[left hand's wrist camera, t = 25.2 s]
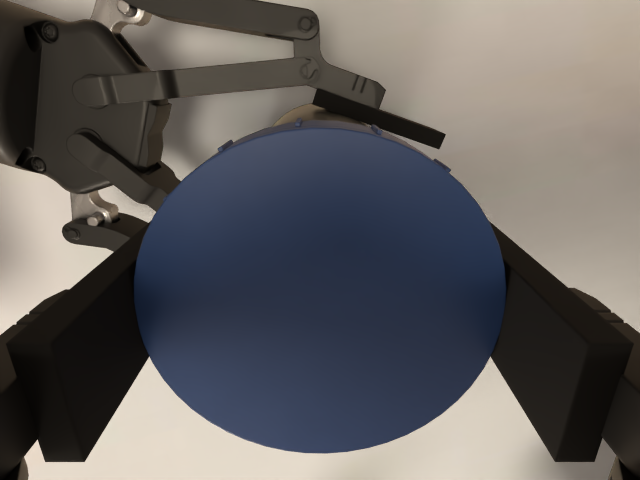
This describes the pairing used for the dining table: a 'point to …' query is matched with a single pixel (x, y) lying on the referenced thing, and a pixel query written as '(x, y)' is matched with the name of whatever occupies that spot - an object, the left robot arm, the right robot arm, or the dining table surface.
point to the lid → (319, 288)
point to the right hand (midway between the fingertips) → (401, 214)
